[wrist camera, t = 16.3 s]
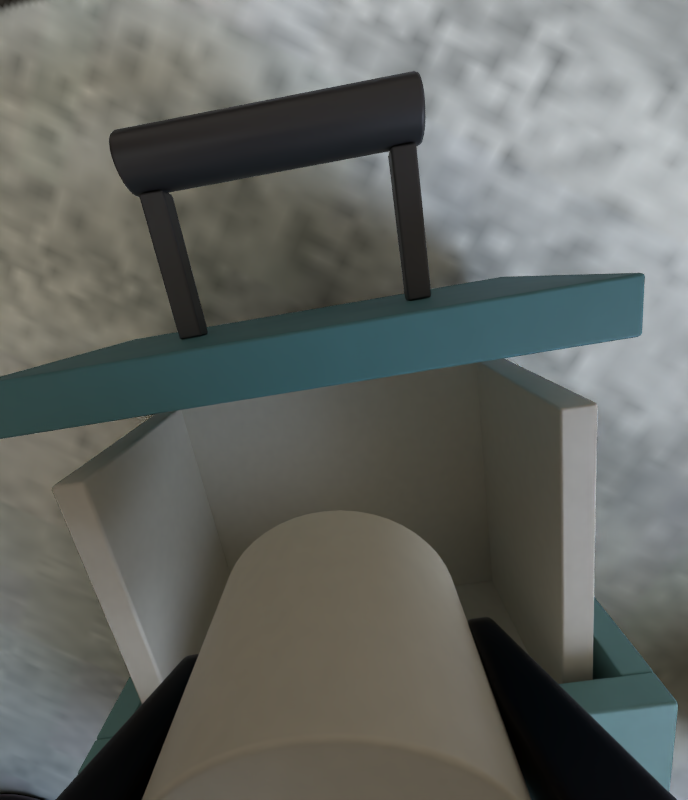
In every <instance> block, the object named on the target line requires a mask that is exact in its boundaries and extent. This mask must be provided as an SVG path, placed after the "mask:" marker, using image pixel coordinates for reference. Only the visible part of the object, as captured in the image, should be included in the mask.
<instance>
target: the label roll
mask: <svg viewBox="0 0 688 800" xmlns="http://www.w3.org/2000/svg"><path fill="white" fill-rule="evenodd" d="M142 800H532V799H531V797H530V794H529V791H528V788H527V786H526V783H525V780H524V777H523V774H522V772H521V769H520V766H519V763H518V761H517V758H516V755H515V752H514V749H513V747H512V744H511V741H510V738H509V736H508V733H507V730H506V727H505V725H504V722H503V719H502V716H501V713H500V711H499V708H498V705H497V702H496V700H495V697H494V694H493V691H492V689H491V686H490V683H489V680H488V677H487V675H486V672H485V669H484V666H483V664H482V661H481V658H480V655H479V653H478V650H477V647H476V644H475V641H474V639H473V636H472V633H471V630H470V628H469V625H468V622H467V619H466V617H465V614H464V611H463V608H462V605H461V603H460V600H459V597H458V594H457V592H456V589H455V586H454V583H453V581H452V578H451V575H450V573H449V571H448V569H447V567H446V565H445V564H444V562H443V561H442V559H441V558H440V556H439V555H438V554H437V552H436V551H435V550H434V549H433V548H432V547H431V546H430V545H429V544H428V543H427V542H426V541H424V540H423V539H422V538H421V537H420V536H418V535H417V534H416V533H414V532H413V531H411V530H409V529H408V528H406V527H404V526H403V525H401V524H398V523H396V522H394V521H392V520H389V519H387V518H383V517H380V516H377V515H374V514H369V513H363V512H358V511H344V510H338V511H323V512H317V513H311V514H306V515H303V516H300V517H296V518H293V519H291V520H288V521H286V522H284V523H281V524H279V525H277V526H276V527H274V528H272V529H271V530H269V531H267V532H266V533H264V534H263V535H262V536H260V537H259V538H258V539H257V540H255V541H254V542H253V543H252V544H251V545H250V546H249V547H248V548H247V549H246V550H245V551H244V552H243V554H242V555H241V557H240V558H239V559H238V561H237V562H236V564H235V566H234V568H233V570H232V572H231V574H230V576H229V578H228V581H227V583H226V586H225V589H224V591H223V594H222V596H221V599H220V601H219V604H218V606H217V609H216V612H215V614H214V617H213V619H212V622H211V624H210V627H209V629H208V632H207V635H206V637H205V640H204V642H203V645H202V647H201V650H200V652H199V655H198V658H197V660H196V663H195V665H194V668H193V670H192V673H191V675H190V678H189V681H188V683H187V686H186V688H185V691H184V693H183V696H182V698H181V701H180V704H179V706H178V709H177V711H176V714H175V716H174V719H173V721H172V724H171V727H170V729H169V732H168V734H167V737H166V739H165V742H164V744H163V747H162V750H161V752H160V755H159V757H158V760H157V762H156V765H155V767H154V770H153V772H152V775H151V778H150V780H149V783H148V785H147V788H146V790H145V793H144V795H143V798H142Z"/></svg>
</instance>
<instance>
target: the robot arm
mask: <svg viewBox="0 0 688 800" xmlns="http://www.w3.org/2000/svg"><path fill="white" fill-rule="evenodd" d="M468 625H469V628H470V630H471V633H472V636H473V639H474V641H475V644H476V647H477V650H478V653H479V655H480V658H481V661H482V664H483V666H484V669H485V672H486V675H487V677H488V680H489V683H490V686H491V689H492V691H493V694H494V697H495V700H496V702H497V705H498V708H499V711H500V713H501V716H502V719H503V722H504V725H505V727H506V730H507V733H508V736H509V738H510V741H511V744H512V747H513V749H514V752H515V755H516V758H517V761H518V763H519V766H520V769H521V772H522V774H523V777H524V780H525V783H526V786H527V788H528V791H529V794H530V797H531V799H532V800H676V799H675V798H674V797H673V796H672V795H671V794H670V793H669V792H668V791H667V790H666V789H665V788H664V787H663V786H662V785H661V784H660V783H659V782H658V781H657V780H656V779H655V778H654V777H653V776H652V775H651V774H650V773H649V772H648V771H647V770H646V769H645V768H644V767H643V766H642V765H641V764H640V763H639V762H638V761H637V760H636V759H635V758H634V757H633V756H632V755H631V754H630V753H628V752H627V751H626V750H625V749H624V748H623V747H622V746H621V745H620V744H619V743H618V742H617V741H616V740H615V739H614V738H613V737H612V736H611V735H610V734H609V733H608V732H607V731H606V730H605V729H604V728H603V727H602V726H601V725H600V724H599V723H598V722H597V721H596V720H595V719H594V718H593V717H592V716H591V715H590V714H589V713H588V712H587V711H586V710H585V709H584V708H583V707H582V706H580V705H579V704H578V703H577V702H576V701H575V700H574V699H573V698H572V697H571V696H570V695H569V694H568V693H567V692H566V691H565V690H564V689H563V688H562V687H561V686H560V685H559V684H558V683H557V682H556V681H555V680H554V679H553V678H552V677H551V676H550V675H549V674H548V673H547V672H546V671H545V670H544V669H543V668H542V667H541V666H540V665H539V664H538V663H537V662H536V661H535V660H534V659H533V658H531V657H530V656H529V655H528V654H527V653H526V652H525V651H524V650H523V649H522V648H521V647H520V646H519V645H518V644H517V643H516V642H515V641H514V640H513V639H512V638H511V637H510V636H509V635H508V634H507V633H506V632H505V631H504V630H503V629H502V628H501V627H500V626H499V625H498V624H497V623H496V622H495V621H494V620H493V619H491V618H489V617H481V618H473V619H469V620H468ZM198 655H199V654H194V655H188V656H186V657H185V658H184V659H183V660H182V661H181V662H180V663H179V664H178V665H177V666H176V667H175V668H174V669H173V670H172V672H171V673H170V674H169V675H168V676H167V677H166V678H165V679H164V680H163V682H162V683H161V684H160V685H159V686H158V687H157V688H156V689H155V690H154V691H153V693H152V694H151V695H150V696H149V697H148V698H147V699H146V700H145V701H144V703H143V704H142V705H141V706H140V707H139V708H138V709H137V710H136V711H135V712H134V714H133V715H132V716H131V717H130V718H129V719H128V720H127V721H126V722H125V724H124V725H123V726H122V727H121V728H120V729H119V730H118V731H117V732H116V733H115V735H114V736H113V737H112V738H111V739H110V740H109V741H108V742H107V743H106V745H105V746H104V747H103V748H102V749H101V750H100V751H99V752H98V753H97V754H96V756H95V757H94V758H93V759H92V760H91V761H90V762H89V763H88V764H87V766H86V767H85V768H84V769H83V770H82V771H81V772H80V773H79V774H78V775H77V777H76V778H75V779H74V780H73V781H72V782H71V783H70V784H69V785H68V787H67V788H66V789H65V790H64V791H63V792H62V793H61V794H60V795H59V797H58V798H57V799H56V800H142V798H143V795H144V793H145V790H146V788H147V785H148V783H149V780H150V778H151V775H152V772H153V770H154V767H155V765H156V762H157V760H158V757H159V755H160V752H161V750H162V747H163V744H164V742H165V739H166V737H167V734H168V732H169V729H170V727H171V724H172V721H173V719H174V716H175V714H176V711H177V709H178V706H179V704H180V701H181V698H182V696H183V693H184V691H185V688H186V686H187V683H188V681H189V678H190V675H191V673H192V670H193V668H194V665H195V663H196V660H197V658H198Z"/></svg>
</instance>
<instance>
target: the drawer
mask: <svg viewBox="0 0 688 800" xmlns="http://www.w3.org/2000/svg"><path fill="white" fill-rule="evenodd" d="M424 130H425V97H424V89H423V84H422V80H421V77H420V74H419V73H418V72H415V71H412V72H407V73H402V74H397V75H392V76H387V77H382V78H377V79H371V80H366V81H361V82H356V83H351V84H346V85H341V86H336V87H331V88H326V89H321V90H315V91H310V92H305V93H300V94H295V95H290V96H285V97H280V98H275V99H270V100H265V101H259V102H254V103H249V104H244V105H239V106H234V107H229V108H224V109H219V110H214V111H208V112H203V113H198V114H193V115H188V116H183V117H178V118H173V119H168V120H163V121H158V122H152V123H147V124H142V125H137V126H132V127H127V128H122V129H117V130H114V131H113V132H112V133H111V134H110V137H109V145H110V151H111V155H112V159H113V162H114V164H115V167H116V169H117V171H118V174H119V176H120V177H121V179H122V181H123V183H124V184H125V186H126V187H127V188H128V189H129V191H130V192H131V193H132V194H134V195H135V196H138V197H140V200H141V203H142V207H143V210H144V214H145V217H146V221H147V224H148V228H149V232H150V235H151V239H152V242H153V246H154V249H155V253H156V256H157V260H158V263H159V267H160V270H161V274H162V277H163V281H164V285H165V288H166V292H167V295H168V299H169V302H170V306H171V309H172V313H173V316H174V320H175V323H176V327H177V330H178V332H176V333H170V334H164V335H158V336H152V337H146V338H140V339H135V340H131V341H128V342H124V343H120V344H117V345H113V346H110V347H106V348H102V349H99V350H95V351H91V352H88V353H84V354H81V355H77V356H73V357H70V358H66V359H63V360H59V361H55V362H52V363H48V364H45V365H41V366H37V367H34V368H30V369H27V370H23V371H19V372H16V373H12V374H8V375H5V376H1V377H0V439H3V438H9V437H16V436H22V435H28V434H34V433H40V432H47V431H53V430H59V429H65V428H72V427H78V426H84V425H90V424H97V423H103V422H109V421H115V420H122V419H128V418H134V417H140V416H147V415H153V414H155V415H154V416H152V417H151V418H149V419H148V420H147V421H145V422H144V423H142V424H141V425H139V426H138V427H137V428H135V429H134V430H132V431H131V432H130V433H128V434H127V435H125V436H124V437H122V438H121V439H120V440H118V441H117V442H115V443H114V444H112V445H111V446H110V447H108V448H107V449H105V450H104V451H102V452H101V453H100V454H98V455H97V456H95V457H94V458H93V459H91V460H90V461H88V462H87V463H85V464H84V465H83V466H81V467H80V468H78V469H77V470H75V471H74V472H73V473H71V474H70V475H68V476H67V477H66V478H64V479H63V480H61V481H60V482H58V483H57V484H56V485H54V486H53V487H52V491H53V494H54V496H55V498H56V501H57V503H58V506H59V508H60V510H61V513H62V515H63V517H64V520H65V522H66V525H67V527H68V529H69V532H70V534H71V536H72V539H73V541H74V544H75V546H76V548H77V551H78V553H79V555H80V558H81V560H82V563H83V565H84V567H85V570H86V572H87V574H88V577H89V579H90V582H91V584H92V586H93V589H94V591H95V593H96V596H97V598H98V601H99V603H100V605H101V608H102V610H103V612H104V615H105V617H106V620H107V622H108V624H109V627H110V629H111V631H112V634H113V636H114V639H115V641H116V643H117V646H118V648H119V650H120V653H121V655H122V658H123V660H124V662H125V665H126V667H127V669H128V672H129V674H130V677H131V679H132V681H133V684H134V686H135V688H136V691H137V693H138V696H139V698H140V700H141V703H142V704H143V703H144V701H145V700H146V699H147V698H148V697H149V696H150V695H151V694H152V693H153V691H154V690H155V689H156V688H157V687H158V686H159V685H160V684H161V683H162V682H163V680H164V679H165V678H166V677H167V676H168V675H169V674H170V673H171V672H172V670H173V669H174V668H175V667H176V666H177V665H178V664H179V663H180V662H181V661H182V660H183V659H184V658H185V657H186V656H188V655H194V654H199V652H200V650H201V647H202V645H203V642H204V640H205V637H206V635H207V632H208V629H209V627H210V624H211V622H212V619H213V617H214V614H215V612H216V609H217V606H218V604H219V601H220V599H221V596H222V594H223V591H224V589H225V586H226V583H227V581H228V578H229V576H230V574H231V572H232V570H233V568H234V566H235V564H236V562H237V561H238V559H239V558H240V557H241V555H242V554H243V552H244V551H245V550H246V549H247V548H248V547H249V546H250V545H251V544H252V543H253V542H254V541H255V540H257V539H258V538H259V537H260V536H262V535H263V534H264V533H266V532H267V531H269V530H271V529H272V528H274V527H276V526H277V525H279V524H281V523H284V522H286V521H288V520H291V519H293V518H296V517H300V516H303V515H306V514H311V513H317V512H323V511H338V510H344V511H358V512H363V513H369V514H374V515H377V516H380V517H383V518H387V519H389V520H392V521H394V522H396V523H398V524H401V525H403V526H404V527H406V528H408V529H409V530H411V531H413V532H414V533H416V534H417V535H418V536H420V537H421V538H422V539H423V540H424V541H426V542H427V543H428V544H429V545H430V546H431V547H432V548H433V549H434V550H435V551H436V552H437V554H438V555H439V556H440V558H441V559H442V561H443V562H444V564H445V565H446V567H447V569H448V571H449V573H450V575H451V578H452V581H453V583H454V586H455V589H456V592H457V594H458V597H459V600H460V603H461V605H462V608H463V611H464V614H465V617H466V619H467V622H468V620H469V619H473V618H481V617H489V618H491V619H493V620H494V621H495V622H496V623H497V624H498V625H499V626H500V627H501V628H502V629H503V630H504V631H505V632H506V633H507V634H508V635H509V636H510V637H511V638H512V639H513V640H514V641H515V642H516V643H517V644H518V645H519V646H520V647H521V648H522V649H523V650H524V651H525V652H526V653H527V654H528V655H529V656H530V657H531V658H533V659H534V660H535V661H536V662H537V663H538V664H539V665H540V666H541V667H542V668H543V669H544V670H545V671H546V672H547V673H548V674H549V675H550V676H551V677H552V678H553V679H554V680H555V681H556V682H557V683H558V684H562V683H571V682H579V681H587V680H593V629H594V574H595V519H596V464H597V409H598V406H597V404H596V403H595V402H593V401H591V400H589V399H587V398H584V397H582V396H580V395H578V394H576V393H574V392H572V391H570V390H568V389H566V388H564V387H562V386H560V385H558V384H555V383H553V382H551V381H549V380H547V379H545V378H543V377H541V376H539V375H537V374H535V373H533V372H531V371H529V370H526V369H524V368H522V367H520V366H518V365H516V364H514V363H512V362H510V361H508V360H506V359H504V358H508V357H515V356H521V355H527V354H533V353H540V352H546V351H552V350H558V349H564V348H571V347H577V346H583V345H589V344H596V343H602V342H608V341H614V340H621V339H627V338H633V337H638V336H640V335H641V334H642V321H643V300H644V280H645V276H644V274H642V273H622V274H587V275H552V276H518V277H499V278H494V279H488V280H482V281H476V282H470V283H464V284H458V285H452V286H446V287H441V288H435V289H430V279H429V269H428V259H427V248H426V238H425V228H424V218H423V208H422V198H421V188H420V178H419V168H418V158H417V148H416V146H418V145H420V144H421V143H422V140H423V136H424ZM388 151H390V152H389V156H388V158H389V166H390V175H391V183H392V192H393V200H394V209H395V217H396V226H397V234H398V243H399V251H400V260H401V268H402V277H403V285H404V294H399V295H394V296H388V297H382V298H376V299H370V300H364V301H358V302H352V303H346V304H341V305H335V306H329V307H323V308H317V309H311V310H305V311H299V312H293V313H288V314H282V315H276V316H270V317H264V318H258V319H252V320H246V321H241V322H235V323H229V324H223V325H217V326H211V327H206V323H205V319H204V315H203V312H202V308H201V304H200V300H199V296H198V293H197V289H196V285H195V281H194V277H193V273H192V270H191V266H190V262H189V258H188V254H187V250H186V247H185V243H184V239H183V235H182V231H181V228H180V224H179V220H178V216H177V212H176V208H175V205H174V201H173V197H172V195H171V194H169V192H174V191H179V190H185V189H190V188H195V187H201V186H206V185H211V184H217V183H222V182H228V181H233V180H238V179H244V178H249V177H254V176H260V175H265V174H270V173H276V172H281V171H286V170H292V169H297V168H302V167H308V166H313V165H318V164H324V163H329V162H334V161H340V160H345V159H350V158H356V157H361V156H366V155H372V154H377V153H382V152H388Z"/></svg>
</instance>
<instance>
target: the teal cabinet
mask: <svg viewBox="0 0 688 800" xmlns="http://www.w3.org/2000/svg"><path fill="white" fill-rule="evenodd" d="M559 685H560V686H561V687H562V688H563V689H564V690H565V691H566V692H567V693H568V694H569V695H570V696H571V697H572V698H573V699H574V700H575V701H576V702H577V703H578V704H579V705H580V706H582V707H583V708H584V709H585V710H586V711H587V712H588V713H589V714H590V715H591V716H592V717H593V718H594V719H595V720H596V721H597V722H598V723H599V724H600V725H601V726H602V727H603V728H604V729H605V730H606V731H607V732H608V733H609V734H610V735H611V736H612V737H613V738H614V739H615V740H616V741H617V742H618V743H619V744H620V745H621V746H622V747H623V748H624V749H625V750H626V751H627V752H628V753H630V754H631V755H632V756H633V757H634V758H635V759H636V760H637V761H638V762H639V763H640V764H641V765H642V766H643V767H644V768H645V769H646V770H647V771H648V772H649V773H650V774H651V775H652V776H653V777H654V778H655V779H656V780H657V781H658V782H659V783H660V784H661V785H662V786H663V787H664V788H665V789H666V790H667V791H668V792H669V789H670V780H671V770H672V760H673V750H674V740H675V731H676V721H677V711H678V703H677V701H676V700H675V698H674V697H673V696H672V695H671V693H670V692H669V691H668V690H667V688H666V687H665V686H664V685H663V683H662V682H661V681H660V680H659V678H658V677H657V676H656V675H655V674H654V673H653V671H652V669H651V668H650V666H649V665H648V664H647V663H646V661H645V660H644V659H643V658H642V656H641V655H640V654H639V652H638V651H637V650H636V649H635V647H634V646H633V645H632V644H631V642H630V641H629V640H628V639H627V637H626V636H625V635H624V634H623V632H622V631H621V630H620V629H619V627H618V626H617V625H616V623H615V622H614V621H613V620H612V618H611V617H610V616H609V615H608V613H607V612H606V611H605V610H604V608H603V607H602V606H601V605H600V603H599V602H598V601H597V600H596V598H595V597H594V629H593V680H587V681H579V682H571V683H562V684H559ZM141 705H142V703H141V700H140V698H139V696H138V693H137V691H136V688H135V686H134V684H133V681H132V679H131V677H129V679H128V681H127V683H126V685H125V687H124V688H123V690H122V692H121V694H120V696H119V698H118V700H117V701H116V703H115V705H114V707H113V709H112V711H111V712H110V714H109V716H108V718H107V720H106V722H105V723H104V725H103V727H102V729H101V731H100V733H99V735H98V736H97V740H96V741H95V742H94V744H93V746H92V748H91V750H90V752H89V753H88V755H87V757H86V759H85V761H84V763H83V764H82V766H81V768H80V770H79V773H80V772H81V771H82V770H83V769H84V768H85V767H86V766H87V764H88V763H89V762H90V761H91V760H92V759H93V758H94V757H95V756H96V754H97V753H98V752H99V751H100V750H101V749H102V748H103V747H104V746H105V745H106V743H107V742H108V741H109V740H110V739H111V738H112V737H113V736H114V735H115V733H116V732H117V731H118V730H119V729H120V728H121V727H122V726H123V725H124V724H125V722H126V721H127V720H128V719H129V718H130V717H131V716H132V715H133V714H134V712H135V711H136V710H137V709H138V708H139V707H140V706H141ZM79 773H78V774H79Z"/></svg>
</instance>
